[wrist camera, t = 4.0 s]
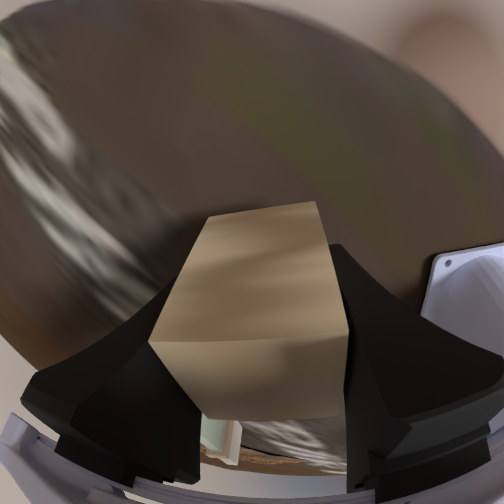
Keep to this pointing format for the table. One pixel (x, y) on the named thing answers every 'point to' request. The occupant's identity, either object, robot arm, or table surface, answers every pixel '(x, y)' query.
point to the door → (211, 432)
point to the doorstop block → (257, 319)
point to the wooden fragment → (259, 457)
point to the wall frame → (228, 443)
